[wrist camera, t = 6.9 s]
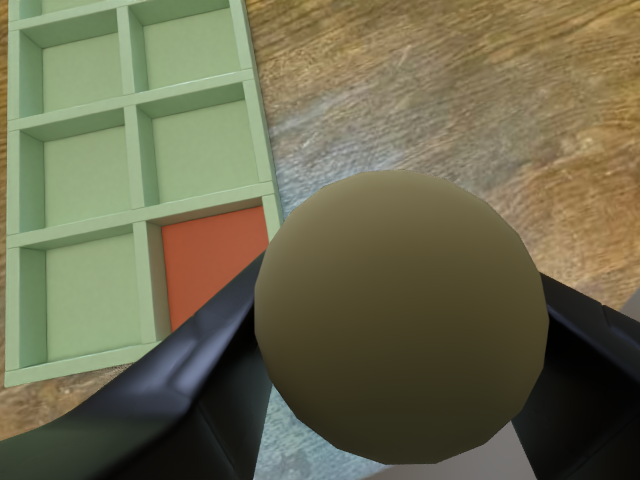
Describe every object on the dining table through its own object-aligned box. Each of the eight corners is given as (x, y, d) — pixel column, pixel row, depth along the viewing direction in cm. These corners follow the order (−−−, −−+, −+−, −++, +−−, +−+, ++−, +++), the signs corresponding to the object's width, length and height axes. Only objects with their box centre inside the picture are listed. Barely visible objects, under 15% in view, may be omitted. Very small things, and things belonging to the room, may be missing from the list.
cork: (290, 352, 15) (156, 517, 4) (304, 235, 16) (233, 99, 5) (413, 368, 14) (666, 608, 3) (419, 246, 15) (623, 123, 4)
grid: (302, 325, 21) (298, 329, 19) (40, 377, 22) (4, 388, 19) (230, -79, 28) (221, -113, 26) (35, -35, 29) (8, -64, 27)
